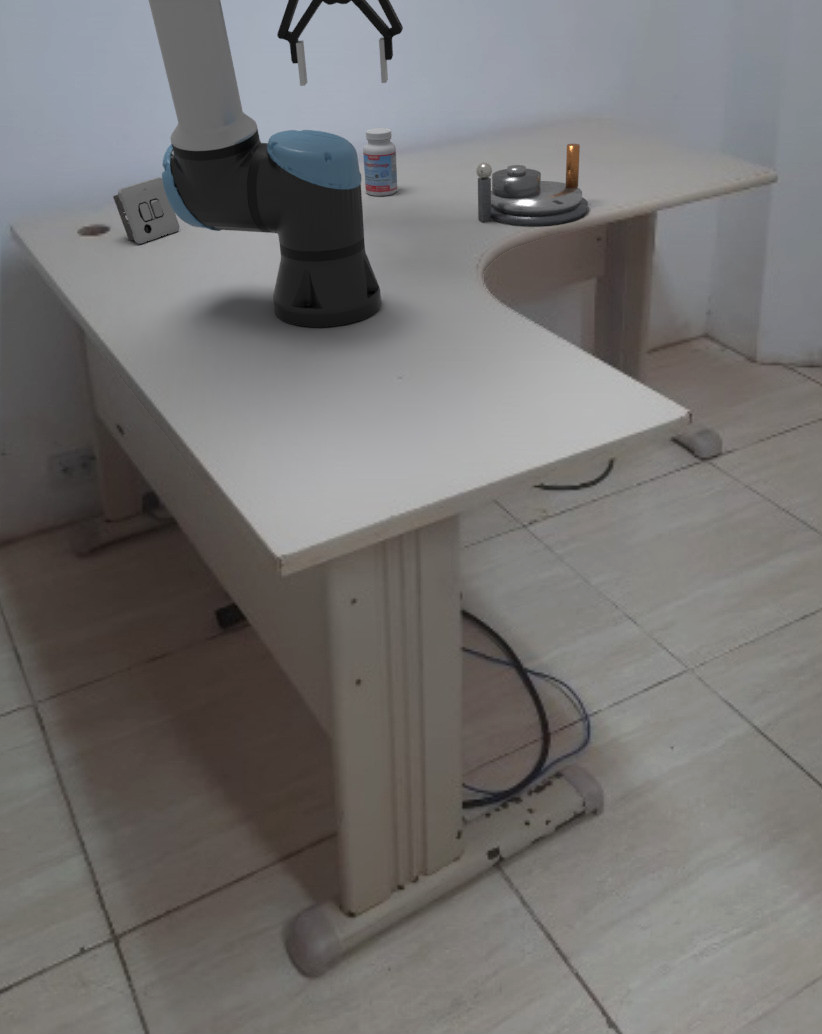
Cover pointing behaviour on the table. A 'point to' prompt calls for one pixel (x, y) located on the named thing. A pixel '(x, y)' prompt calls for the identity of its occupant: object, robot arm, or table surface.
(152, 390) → the table surface
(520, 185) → the cover
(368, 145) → the pill bottle
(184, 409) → the table surface
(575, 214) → the turntable base
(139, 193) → the electrical switch
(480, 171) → the post
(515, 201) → the platter
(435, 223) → the table surface
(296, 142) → the robot arm
